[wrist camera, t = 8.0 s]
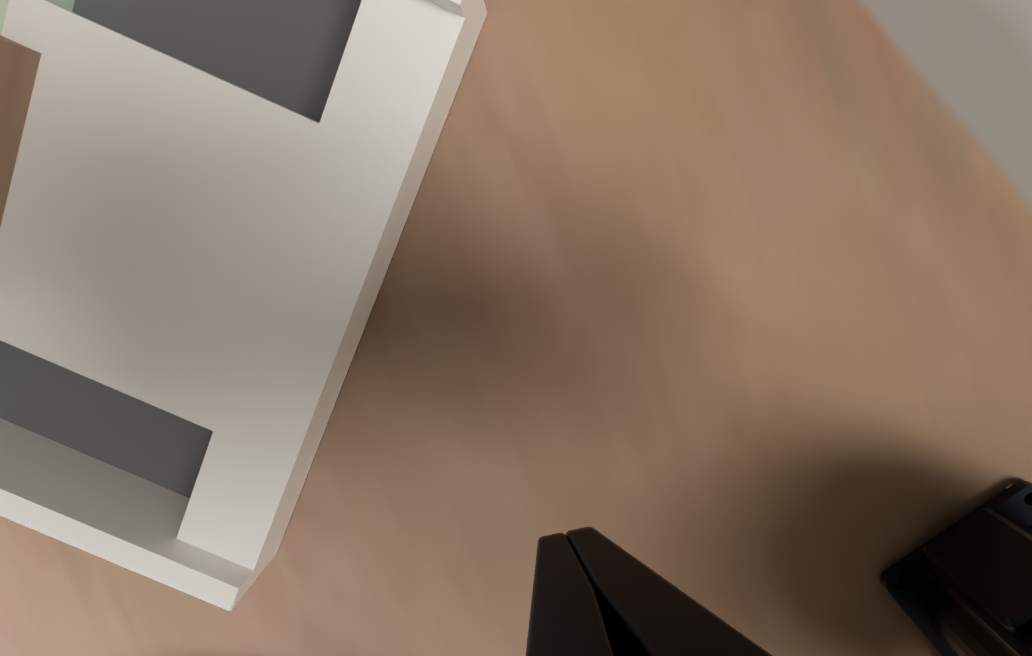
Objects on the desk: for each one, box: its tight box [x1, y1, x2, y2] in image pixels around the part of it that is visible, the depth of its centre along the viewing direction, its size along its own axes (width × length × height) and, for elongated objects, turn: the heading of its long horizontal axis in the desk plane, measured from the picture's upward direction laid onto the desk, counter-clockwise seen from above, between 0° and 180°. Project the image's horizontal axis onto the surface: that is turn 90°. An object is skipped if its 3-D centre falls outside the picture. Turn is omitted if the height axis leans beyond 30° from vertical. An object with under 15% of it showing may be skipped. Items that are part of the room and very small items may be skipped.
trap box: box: [0, 0, 487, 611], centre depth 19 cm, size 22×22×4 cm
